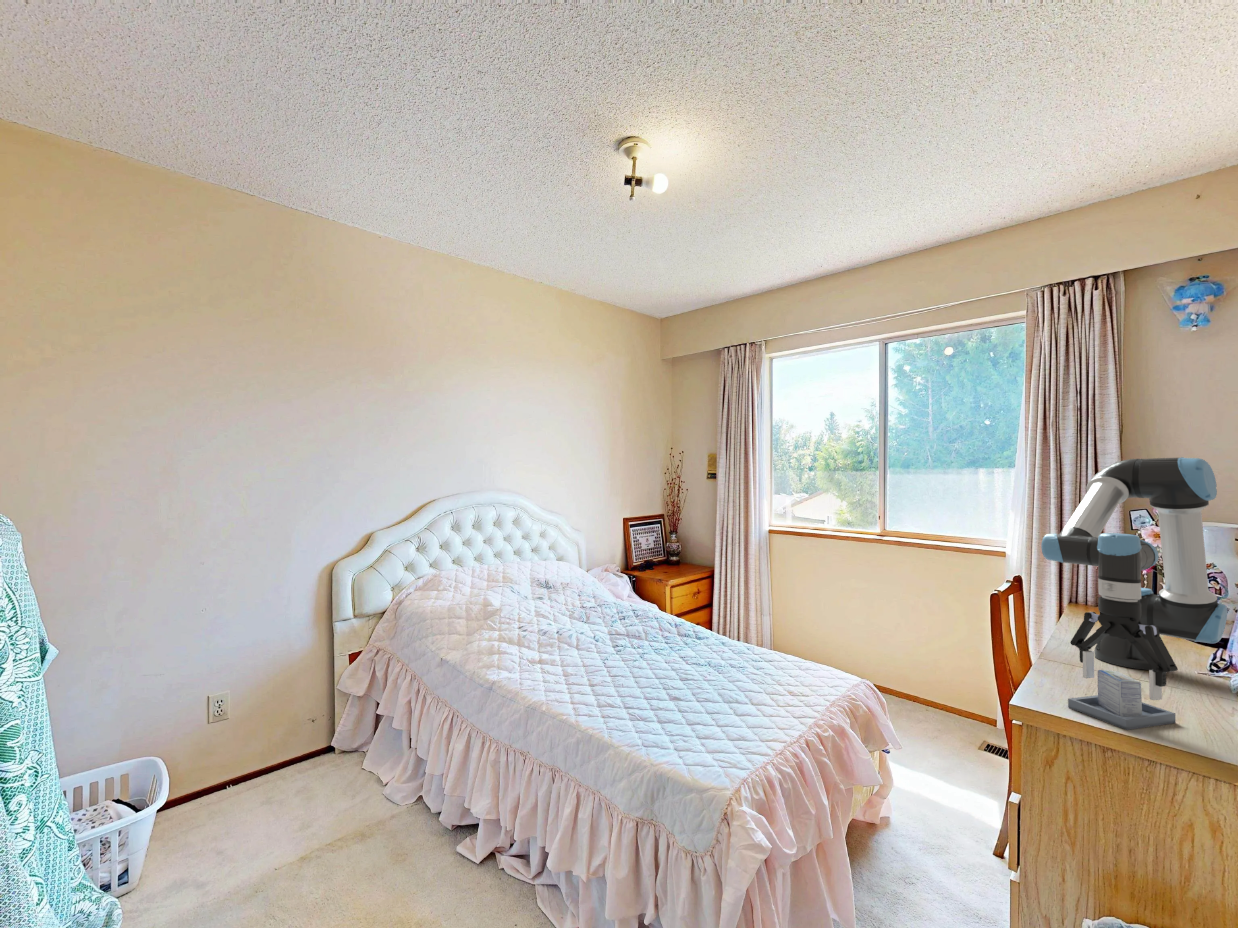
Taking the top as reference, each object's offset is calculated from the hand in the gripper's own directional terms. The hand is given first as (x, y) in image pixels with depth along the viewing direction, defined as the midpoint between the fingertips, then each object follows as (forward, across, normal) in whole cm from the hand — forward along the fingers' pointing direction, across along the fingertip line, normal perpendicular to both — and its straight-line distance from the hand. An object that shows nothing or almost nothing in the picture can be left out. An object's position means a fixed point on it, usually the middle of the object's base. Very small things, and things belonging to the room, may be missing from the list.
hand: (1120, 687), depth 127 cm
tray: (+6, 0, 0) cm, 6 cm away
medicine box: (+6, 0, 0) cm, 6 cm away
